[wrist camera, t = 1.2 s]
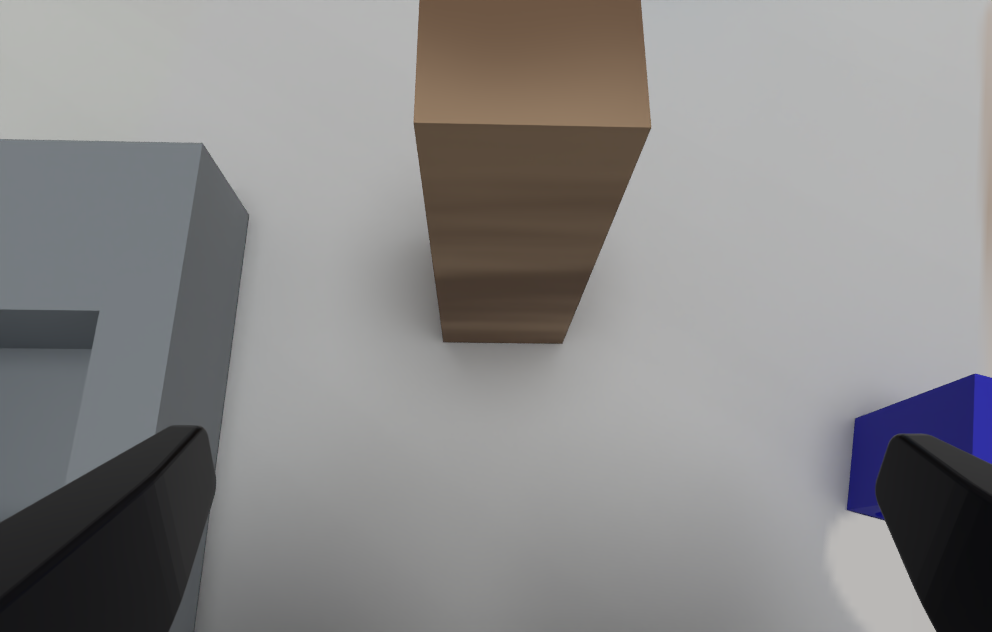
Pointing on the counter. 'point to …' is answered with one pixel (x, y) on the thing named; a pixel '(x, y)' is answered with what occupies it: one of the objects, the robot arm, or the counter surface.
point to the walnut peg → (524, 154)
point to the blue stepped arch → (920, 432)
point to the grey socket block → (111, 308)
